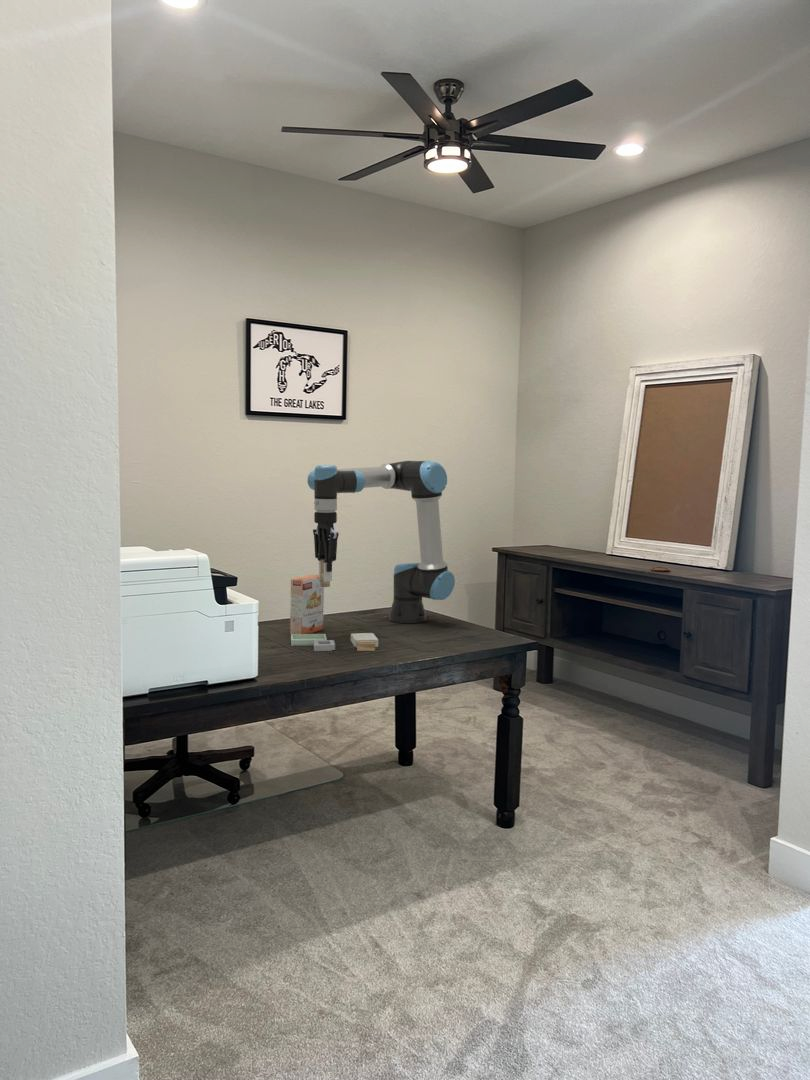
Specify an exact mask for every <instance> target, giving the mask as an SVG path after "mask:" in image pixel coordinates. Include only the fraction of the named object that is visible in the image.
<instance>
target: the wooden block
mask: <svg viewBox="0 0 810 1080" xmlns="http://www.w3.org/2000/svg"><path fill="white" fill-rule="evenodd" d="M356 648H357V649H356ZM356 648H355V649H356V650H357V652H371V651H372V652H373V651H376V647H375V642H374V641H356Z"/></svg>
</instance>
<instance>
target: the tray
mask: <svg viewBox="0 0 810 1080" xmlns="http://www.w3.org/2000/svg"><path fill="white" fill-rule="evenodd" d="M314 640H328V639H327V635H326V633H311V634H290V646H291V647H314V646H313V645H314Z"/></svg>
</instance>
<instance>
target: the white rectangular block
mask: <svg viewBox="0 0 810 1080" xmlns="http://www.w3.org/2000/svg"><path fill="white" fill-rule="evenodd" d="M356 641H374V642H375V648H379V639H378V638H377V636H376V635H375V633H373V632H363V633H360V632H359V633H350V642H351V643H352V645H353V647H354V648H355V647H356Z"/></svg>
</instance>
